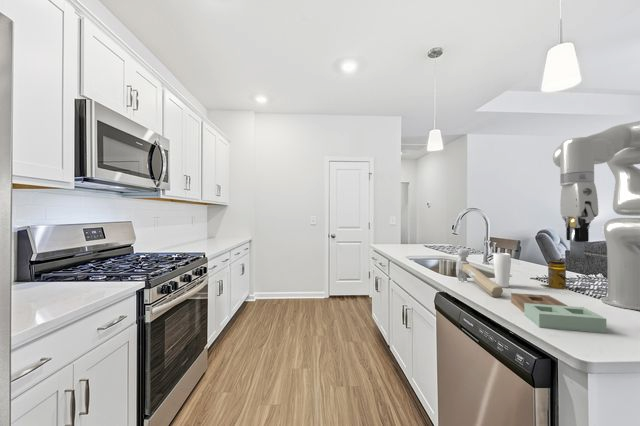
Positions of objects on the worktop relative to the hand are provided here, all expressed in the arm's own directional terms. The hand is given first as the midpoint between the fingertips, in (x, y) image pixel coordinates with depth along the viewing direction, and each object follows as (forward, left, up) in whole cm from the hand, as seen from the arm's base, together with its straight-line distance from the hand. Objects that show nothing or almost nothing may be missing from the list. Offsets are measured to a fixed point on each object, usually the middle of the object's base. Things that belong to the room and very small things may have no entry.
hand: (577, 240), depth 84 cm
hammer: (+18, -38, -26) cm, 49 cm away
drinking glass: (+6, -44, -26) cm, 51 cm away
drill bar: (0, 0, -5) cm, 5 cm away
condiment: (-16, -48, -26) cm, 57 cm away
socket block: (+5, -13, -25) cm, 29 cm away
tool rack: (+4, 0, -25) cm, 26 cm away
